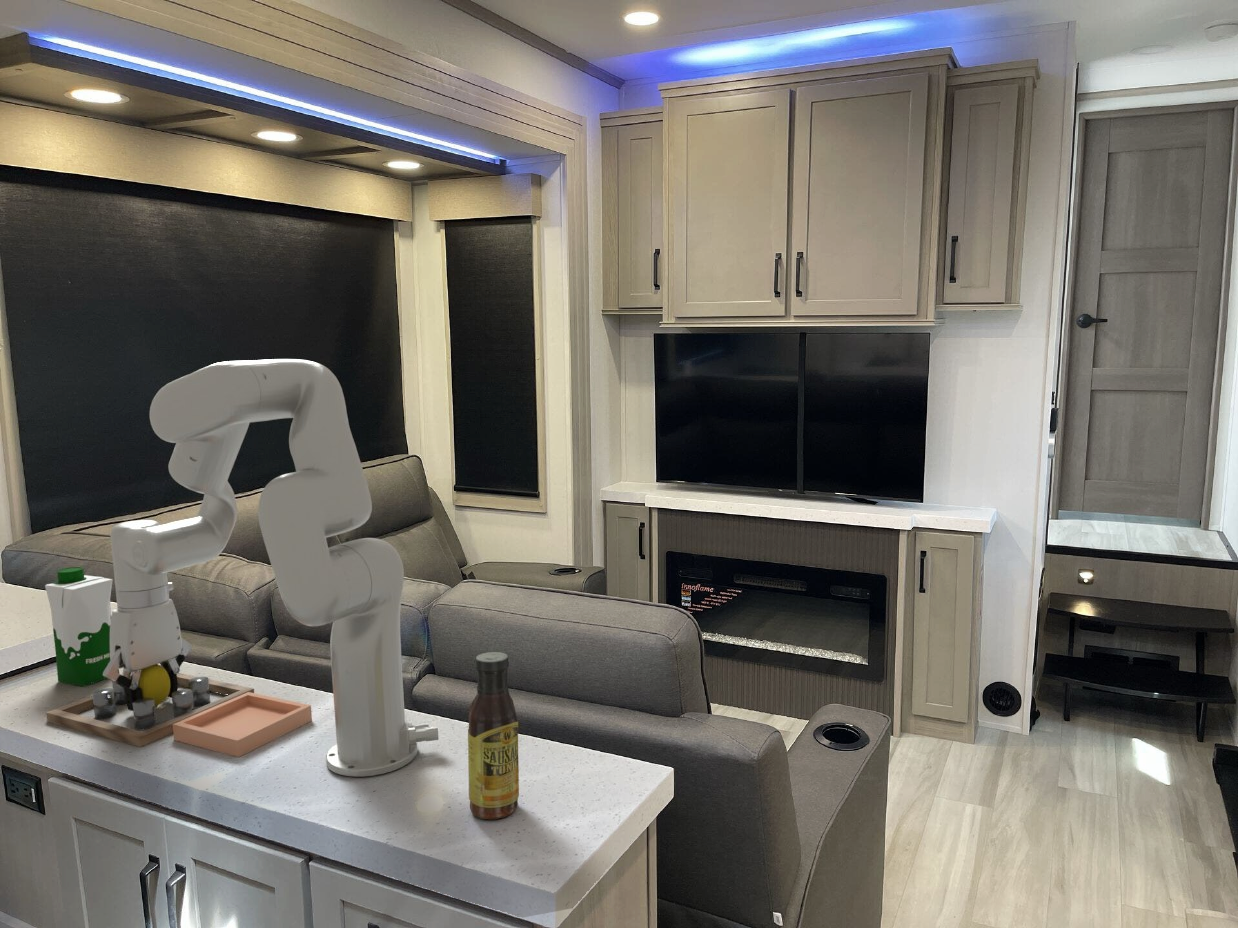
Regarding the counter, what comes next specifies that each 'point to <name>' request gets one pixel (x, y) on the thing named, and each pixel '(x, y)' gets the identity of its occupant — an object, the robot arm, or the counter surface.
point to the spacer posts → (151, 702)
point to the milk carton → (80, 625)
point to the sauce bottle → (493, 741)
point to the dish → (242, 723)
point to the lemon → (154, 683)
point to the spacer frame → (70, 719)
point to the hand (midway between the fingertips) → (153, 702)
